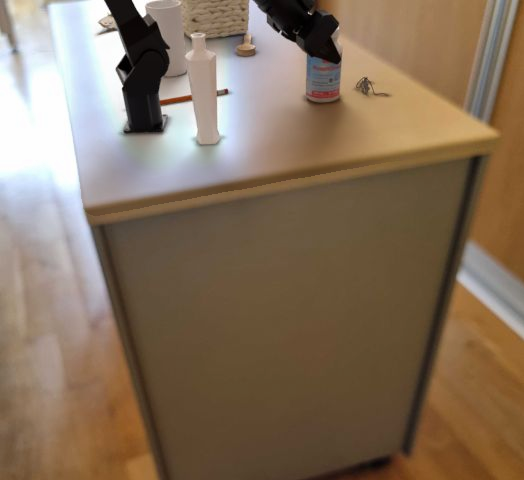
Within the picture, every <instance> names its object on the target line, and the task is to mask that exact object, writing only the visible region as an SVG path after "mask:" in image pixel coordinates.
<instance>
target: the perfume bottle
mask: <svg viewBox="0 0 524 480" xmlns="http://www.w3.org/2000/svg"><path fill="white" fill-rule="evenodd" d="M205 35H206V34H203V33H195V34H191V35H190V36H191V37H192V39H191V45H192V49H191V50H190V51H189V52H186V55H185V62H186V67H187V71H186V73H187V79H188V84H189V88H190V95H192V100H191V101H192V105H193V106H192V107H193V112H194V118H195V122H196V123H195V124H196V130H197V132H196V141H197V143H198V144H199V145H216V144H217V143H218V142H219V141H220V140H221V134H220V132H219V128H218V95H217V90H218V83H217V82H218V81H217V80H218V79H217V53H215V52H213V51H211V50H209V49H207V46H206V39H205Z"/></svg>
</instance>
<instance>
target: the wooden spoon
mask: <svg viewBox="0 0 524 480" xmlns="http://www.w3.org/2000/svg"><path fill="white" fill-rule="evenodd" d="M243 38H244V39H243V43H242V44H239V45H237V46H236V54H237V56H241V57H242V56H243V57H249V56H253V55H255V54H256V45H254V44H252V33H244V37H243Z"/></svg>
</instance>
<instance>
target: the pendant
mask: <svg viewBox="0 0 524 480" xmlns="http://www.w3.org/2000/svg"><path fill="white" fill-rule="evenodd" d="M368 78H369V77H368V76H363V77H362V78H360V80H359V81H358V82H357V83H356V85H355V88H357V89H358V88H360V90H361V91H362V92H364V93H365V94H368V92H369V91H370V90H371V89H372V93H373V95H375V96H378V95H386V96H389V94H387V93H384V92H380V93H375V91H374V87H373V85H372V81H370V80H369V79H368ZM369 84H370V86H369ZM358 85H360V86H358Z"/></svg>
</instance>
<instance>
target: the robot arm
mask: <svg viewBox="0 0 524 480" xmlns="http://www.w3.org/2000/svg"><path fill="white" fill-rule="evenodd" d="M133 1H134V0H103V2H104V3H105V5H106V7H107V9H108V11H109V13H110V14H112V16H113V18H114V21H115V24H116V27H117V29H116V31H117V33H118V36H119V39H120V42H121V44H122V48H123V50H124V55H123V56H122V58H121V60H120V61H119V62H118V63H117V65H116V66H115V72H116V74H117V77H118V78H119V81H120V83H121V85H122V86H121V93H122V97H123V103H124V108H125V113H126V117H127V120H126V123H125V125H124V126H123V129H122V131H123V133H124V134H141V133H142V134H143V133H144V134H145V133H147V134H149V133H163V132H164V130H165V127H166V124H167V121H168V120H169V119H168V118H169V116H168V114H165V113H164V114H163V112H162V105H160V100H161V99H160V87H161V82H162V78H163V77H165V76H164V75H165V74H166V72H167V71H168V67H169V64H170V59H169V56H168V53H167V51H166V49H168V50H169V49H170V47H169V45H168V44H167V43H166V42H165V40H164V39H163V38H162V36H161V32H160V29H159V26H158V24H157V22H156V20H155V19H154V18H153V17H152V15H151V14H150V13H148V14H146V13H145V15H144V16H142V15H141V13H140V11H138V9H137V7H136V5H135V3H134V2H133ZM252 1H253V3H255V4H256V5H257V8H258V9H259V10H260V12H262V13H263V14H265V15H266V23H267V25H269V26H270V27H271V29H273V30H274V31H275V32H276V33H278V34H280V36H282V37H283V38H284V39H286V40H288V41H290V42H292V43H295V44H296V46H297V47H298V48H299V49H300V50H301V51H302V52H303V53H305V54H306V56H307V55H309V56H310V57H311V58H313V57H317V58H320V59H322V60H325V61H328V62H331V63H334V64H337V65H338V64H339V63H340V61H341V57H340V55H339V52H338V50H337V48H336V46H335V44H334V42H333V40H332V37H331V36H332V34H333V33H334V32H335V31H336V29H337V28H338V26H339V27H340V22H339V21H338V19H337V18H336V17H335V16H334V15H333V14H332V12H329V11H327V10H325V9H323V8H321V9H315V10H314V11H313V12H312V13H311V11H312V9H313V8H314V6H315V5H316V3H315V1H314V0H252Z"/></svg>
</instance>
